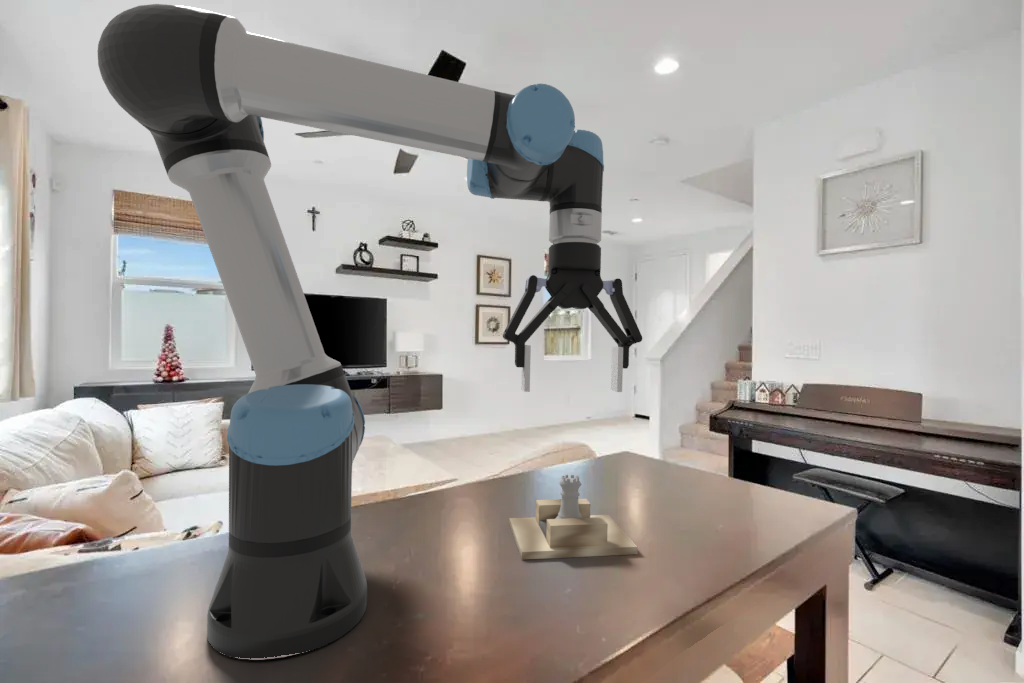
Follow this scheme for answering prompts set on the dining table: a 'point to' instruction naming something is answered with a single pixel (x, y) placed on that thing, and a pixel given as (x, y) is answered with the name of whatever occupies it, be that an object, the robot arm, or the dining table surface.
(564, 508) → the rook chess piece
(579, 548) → the birch mount
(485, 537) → the dining table surface
